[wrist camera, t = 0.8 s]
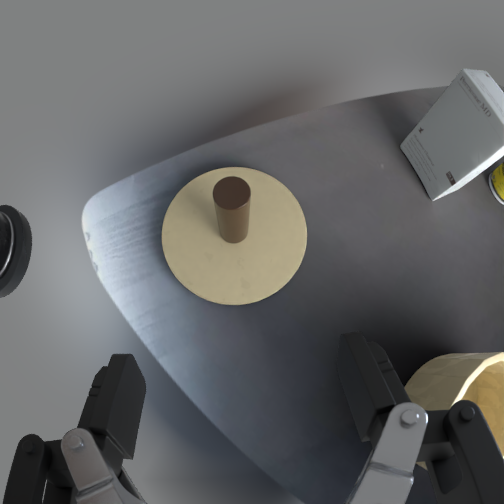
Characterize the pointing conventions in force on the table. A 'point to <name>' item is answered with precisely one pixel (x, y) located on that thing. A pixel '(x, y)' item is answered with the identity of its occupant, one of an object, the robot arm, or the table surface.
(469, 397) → the pot
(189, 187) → the lid
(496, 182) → the supplement bottle
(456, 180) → the cosmetic box
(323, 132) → the table surface
